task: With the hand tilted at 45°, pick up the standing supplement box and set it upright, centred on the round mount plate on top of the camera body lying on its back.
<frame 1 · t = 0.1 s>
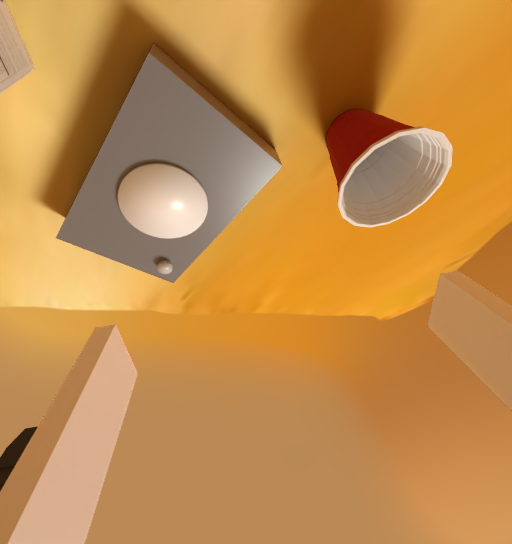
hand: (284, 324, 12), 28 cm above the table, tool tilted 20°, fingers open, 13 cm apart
plastic cup: (348, 135, 35), on the table
camera body: (167, 185, 36), on the table
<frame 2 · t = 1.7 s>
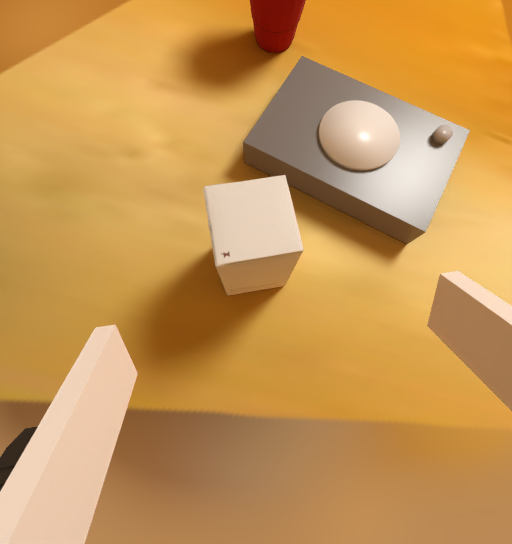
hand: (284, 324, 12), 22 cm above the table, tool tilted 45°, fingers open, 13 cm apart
plastic cup: (275, 40, 45), on the table
camera body: (347, 156, 39), on the table
supplement box: (251, 263, 35), on the table
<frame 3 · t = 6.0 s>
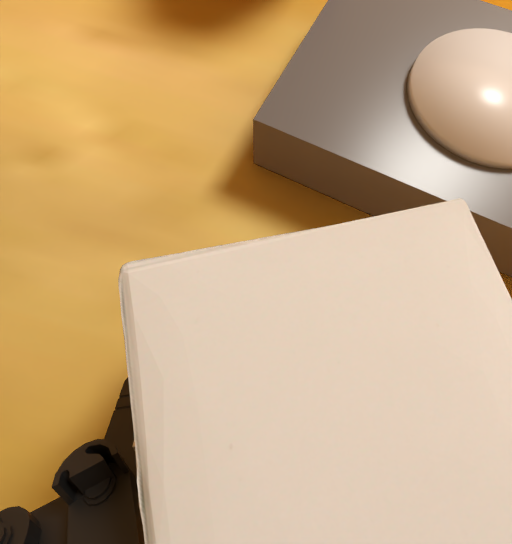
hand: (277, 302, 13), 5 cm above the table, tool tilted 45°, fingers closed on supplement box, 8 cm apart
camera body: (446, 144, 21), on the table
supplement box: (281, 372, 17), on the table, touching gripper
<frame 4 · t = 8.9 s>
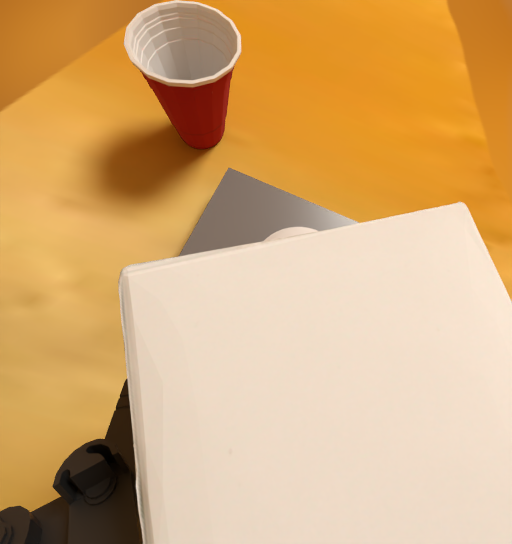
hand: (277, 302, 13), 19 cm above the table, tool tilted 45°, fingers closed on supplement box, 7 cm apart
plastic cup: (204, 131, 38), on the table
camera body: (293, 282, 33), on the table
supplement box: (281, 374, 17), point 14 cm above the table, touching gripper
when the fingers open (10 cm above the table, at t = 11.8 s): supplement box drops 1 cm, resting on camera body.
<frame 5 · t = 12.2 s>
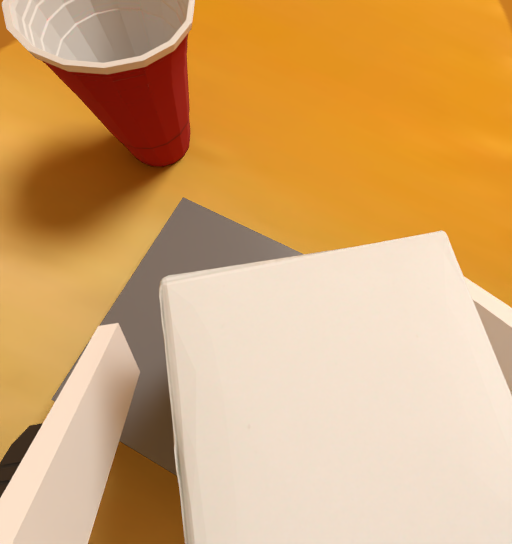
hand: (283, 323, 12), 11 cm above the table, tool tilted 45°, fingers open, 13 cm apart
plastic cup: (163, 142, 28), on the table
camera body: (274, 367, 22), on the table
supplement box: (283, 372, 18), point 4 cm above the table, touching camera body
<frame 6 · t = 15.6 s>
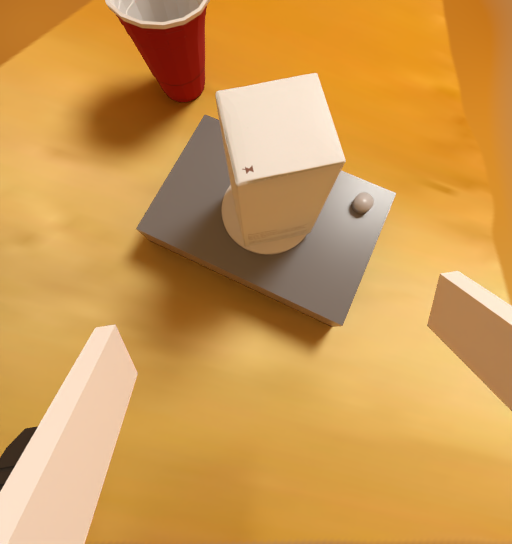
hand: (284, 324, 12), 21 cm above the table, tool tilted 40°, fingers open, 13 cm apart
plastic cup: (186, 86, 40), on the table
camera body: (266, 224, 35), on the table
supplement box: (270, 210, 31), point 4 cm above the table, touching camera body
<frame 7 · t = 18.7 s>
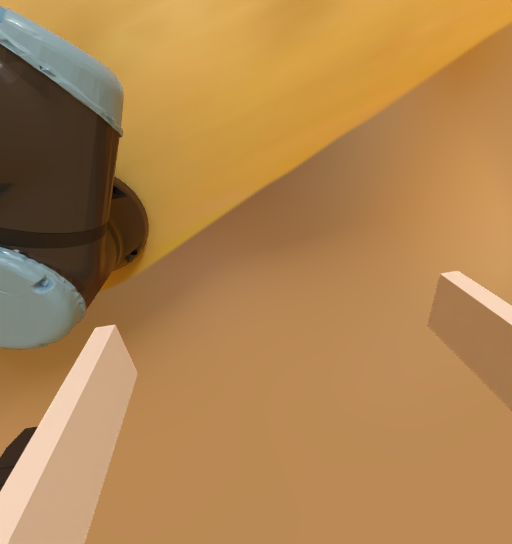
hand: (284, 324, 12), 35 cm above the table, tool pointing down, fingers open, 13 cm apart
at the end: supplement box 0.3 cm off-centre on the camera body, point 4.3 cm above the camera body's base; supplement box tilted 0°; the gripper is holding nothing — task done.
